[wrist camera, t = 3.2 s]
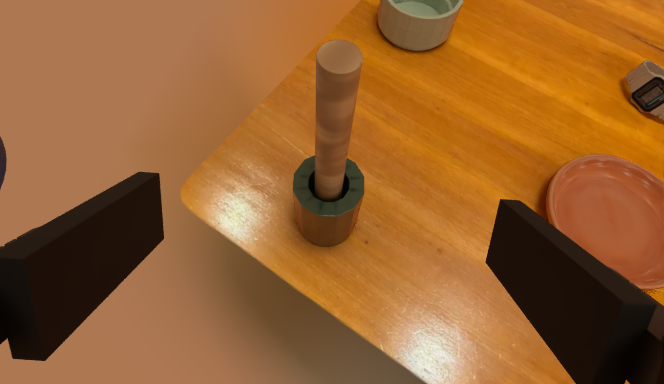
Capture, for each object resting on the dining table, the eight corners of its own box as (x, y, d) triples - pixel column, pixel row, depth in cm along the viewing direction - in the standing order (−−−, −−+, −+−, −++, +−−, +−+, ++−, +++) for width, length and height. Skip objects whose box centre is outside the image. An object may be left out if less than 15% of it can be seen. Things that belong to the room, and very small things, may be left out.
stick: (309, 220, 43) (307, 60, 21) (322, 202, 44) (332, 32, 22) (329, 232, 42) (347, 80, 21) (341, 213, 43) (370, 51, 22)
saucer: (701, 285, 42) (728, 278, 39) (567, 302, 40) (585, 297, 38) (634, 161, 49) (652, 148, 46) (517, 171, 47) (529, 159, 45)
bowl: (363, 33, 57) (368, -3, 51) (397, -8, 61) (405, -46, 56) (430, 64, 55) (443, 30, 49) (460, 19, 59) (475, -17, 54)
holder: (285, 227, 43) (279, 192, 35) (316, 183, 45) (317, 141, 37) (335, 258, 41) (341, 229, 33) (364, 211, 44) (376, 174, 36)
